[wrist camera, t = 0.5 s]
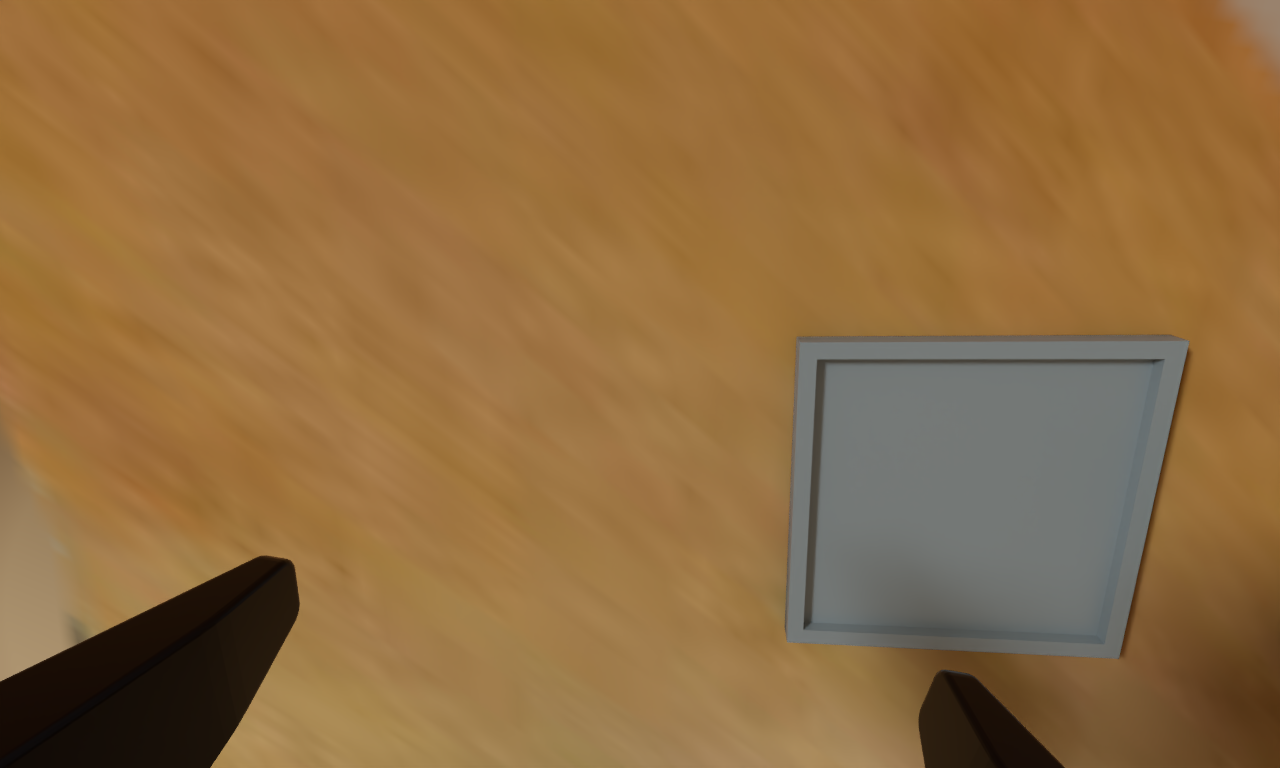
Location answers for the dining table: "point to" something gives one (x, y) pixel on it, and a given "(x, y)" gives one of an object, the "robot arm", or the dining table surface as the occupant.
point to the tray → (975, 489)
